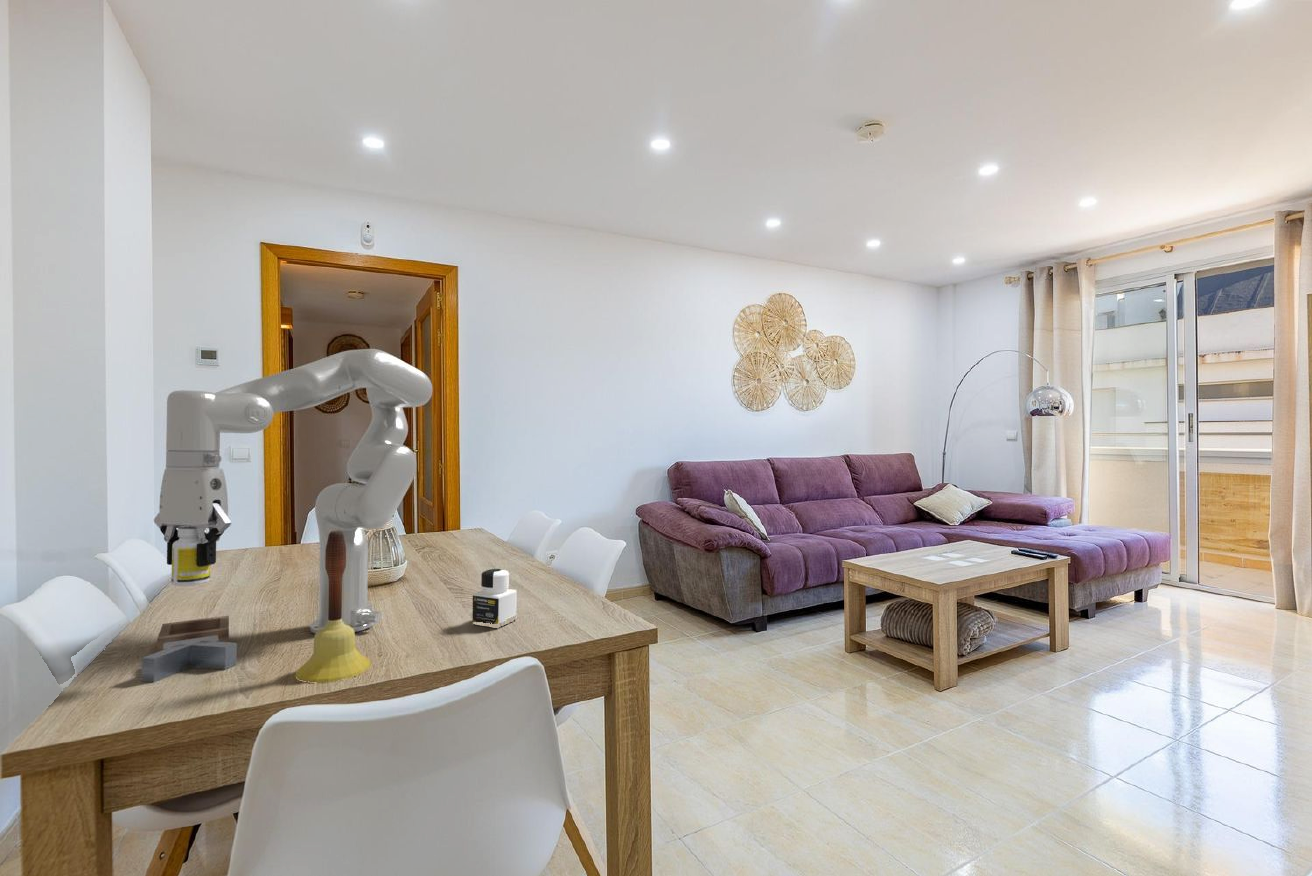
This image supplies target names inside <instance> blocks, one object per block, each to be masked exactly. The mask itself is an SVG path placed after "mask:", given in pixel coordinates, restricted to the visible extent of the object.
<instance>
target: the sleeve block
mask: <svg viewBox="0 0 1312 876" xmlns="http://www.w3.org/2000/svg"><path fill="white" fill-rule="evenodd" d="M229 622H230V615H222V616H221V615H220V616H215V617H206V618H198V619H192V620H183V621H175V622H168V623H167V622H166V623H162V625H161V628H160V629H159V630H160V631H159V632H158V636H157V639H156V640H157V641H156V642H157V645H156V653H157V652H159V651H162V650H163V645H164V643H167V642H174V641H181V640H188V639H194V638H201V637H208V636H214V635H218V642H229V637H230V636H229V634H230V632H229V631H230V625H229V624H230V623H229Z"/></svg>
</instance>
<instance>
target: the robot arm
mask: <svg viewBox="0 0 1312 876" xmlns="http://www.w3.org/2000/svg"><path fill="white" fill-rule="evenodd" d="M364 388H365V390H366V396H367V401H368V402H369V406H370V409H371V421H370V424H369V426H368V428H367V429H366V431H365V433H364V434H363V435H362V438H361V439H360V440H359V442H358V444H357V445H356V447H355V449H354V450H353V451H352V453H351V454H350V456H349V459H348V461H347V464H346V472H347V475H348V476H349V478H350V479H351V480H352V481H355V482H357V483H349V482H339V483H334V484H330V485H328V486H327V487H325V488H323V489H322V490H320V492H319V494H318V496H317V497H316V500H315V504H314V506H315V507H314V511H315V518H316V523H317V528H318V538H319V540H318V541H319V564H318V565H319V566H318V568H319V569H318V619H316V620H314V621H313V622H311V624H310V626H309V629H310V632H311V633H312V634H314V635H315V634H316V633H317V632H318V631H319V630H320V629H321V628H323V627H325V626H326V624H327V622H328V605H329V579H328V574H327V571H326V568H325V551H326V545H327V541H328V536H329V533H330V532H331V531H342V532H343V535H344V541H345V545H346V567H345V570H344V573H343V577H342V621H343V623H344V624H345V625H348V626H350V627H351V628H353V630H354V632H355V633H357V632H360V631H364V630H367V629H369V628H371V627H372V626H374V624H377V623H379V622H380V620H381V617H382V615H383V613H382V611H381V610H380V611H379V610H372V606H373V605H372V603H368V579H369V577H368V573H369V571H368V568H369V567H368V566H369V565H368V564H369V560H368V559H369V557H368V556H369V544H368V543H369V542H368V537H367V534H366V531H365V530H373V531H374V530H378V529H380V528H382V527H384V526H385V525H387V524H388V523H389V522H390V520H391V519H392V518H393V517H394V515H395V513H397V512H396V511H397V510H398V508H399V506H400V504H401V502H402V501H403V499H404V497H405V495H406V494H407V492H408V490H409V488H410V487H411V484H412V483H413V481H414V479H415V476H416V472H417V459H416V456H415V453H414V452H413V451H412V450H411V449H410V447H408V446H406V445H404V443H405V441H406V440H407V439H406V438H407V436H408V433H409V425H408V421H407V418H406V415H405V411H404V408H417V407H421V406H424V405H426V404H427V403H428V402H429V401H430V399H431V398H432V395H433V390H434V389H433V385H432V381H431V379H430V378H429V377H428V375H426V374H425V373H424V371H422V370H420V369H419V368H417V367H415V366H413V365H411V364H409V363H407V362H405V361H403V360H402V359H400V358H398V357H396V356H395V355H392V354H390V353H389V352H386V351H384V350H382V349H381V350H380V349H378V348H377V349H376V348H367V349H366V348H364V349H363V348H362V349H350V350H345V351H341V352H338V353H335V354H332V355H329V356H326V357H323V358H320V359H318V360H315V361H312V362H309V363H306V364H303V365H301V366H297V367H295V368H291V369H287V370H284V371H280V372H277V373H274V374H271V375H268V376H263V377H261V378H257V379H253V380H250V381H247V382H246V381H245V382H243V383H240V384H237V385H234V386H231V387H229V388H226V389H222V390H220V391H218V392H212V391H211V392H210V391H204V390H203V391H202V390H174V391H172V392H170V393H169V394H168V395H167V399H166V439H165V440H166V441H165V443H166V445H165V446H166V447H165V468H164V471H163V474H162V475H163V476H162V479H161V486H160V493H159V494H160V495H159V506H158V507H159V509H158V510H159V512H158V513H157V515H156V516H155V517H154V519H153V522H154V523H155V525H156V526H157V527H158V528H159V530H160V532H161V533H162V534H163V536H164V537H163V541H164V542H166V564H167V565H169V566H172V545H173V543H174V542H175V541H177V540H179V537H178V528H181V527H196V528H197V532H198V535H199V539H200V542H201V543H199V544H197V561H196V565H197V566H198V567H203V566H207V565H210V566H212V565H215V564H216V562H217V542H219V541H220V539H221V536H222V535H223V534H224V533H225V531H226V530H227V529H228V528H230V527H231V526H232V521H231V520H230V518H229V500H228V499H229V498H228V488H227V480H226V476H225V471H224V470H223V469H222V468H220V464H221V463H220V462H221V461H222V456H221V454H220V453H221V451H220V448H221V447H220V445H221V434H222V433H223V434H225V433H226V434H227V433H229V434H254V433H258V432H261V431H263V430H265V429H267V427H269V425H271V424H272V422H273V419H274V414H278V413H283V412H288V411H289V412H291V411H299V410H305V409H308V408H309V409H310V408H314V407H316V406H319V405H322V404H325V403H327V402H329V401H331V400H333V399H335V398H338V397H340V396H342V395H345V394H347V393H351V392H352V391H355V390H359V389H364ZM207 530H208V532H207Z"/></svg>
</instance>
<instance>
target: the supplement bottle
mask: <svg viewBox="0 0 1312 876" xmlns="http://www.w3.org/2000/svg"><path fill="white" fill-rule="evenodd" d="M177 530H178V537H179V540H177V541H175V542H174V543H173V545H172V565H171V581H170V582H171V584H172V586H174V587H191V586H197V585H202V584H207V583H208V582H209V581H210V578H211V565H207V566H203V567H198V566H197V565H196V561H197V544H199V543H201V542H200V539H199V535H198V532H197V528H196V527H189V526H187V527H181V528H177Z"/></svg>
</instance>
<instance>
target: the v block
mask: <svg viewBox="0 0 1312 876" xmlns="http://www.w3.org/2000/svg"><path fill="white" fill-rule="evenodd" d="M237 645H238V644H237V642H231V641H230V642H218V635H214V636H208V637H201V638H194V639H188V640H181V641H174V642H167V643H164V645H163V650H162V651H159V652H157V651H156V652H155V653H152V654H148V655H145V656H143V657H141V682H146V683H155V682H158V681H160V680H163V679H165V678H167V677H170V676H174V675H175V674H178V673H180V672H183V671H185V670H187V669H190V668H198V669H210V670H211V669H214V670H225V671H226V670H228V669H230V668H233V667H235V666H236V665H237V655H238V653H237V647H238V646H237ZM234 665H235V666H234Z"/></svg>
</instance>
